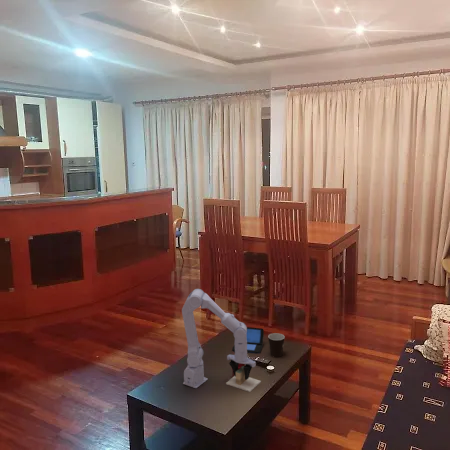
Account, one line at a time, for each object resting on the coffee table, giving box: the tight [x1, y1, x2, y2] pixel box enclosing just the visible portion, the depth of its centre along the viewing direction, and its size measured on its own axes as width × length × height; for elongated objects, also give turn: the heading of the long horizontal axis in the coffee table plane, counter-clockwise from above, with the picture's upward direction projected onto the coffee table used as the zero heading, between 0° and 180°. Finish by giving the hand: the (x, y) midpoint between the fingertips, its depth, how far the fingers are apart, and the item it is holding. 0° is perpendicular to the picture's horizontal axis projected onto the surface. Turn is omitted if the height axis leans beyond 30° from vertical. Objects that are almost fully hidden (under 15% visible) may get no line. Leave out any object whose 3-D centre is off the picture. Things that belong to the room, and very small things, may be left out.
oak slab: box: [236, 365, 246, 385], centre depth 198 cm, size 6×2×6 cm, turn 146°
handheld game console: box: [232, 326, 265, 354], centre depth 234 cm, size 16×13×9 cm
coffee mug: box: [267, 332, 286, 358], centre depth 226 cm, size 12×9×10 cm
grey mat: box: [225, 376, 262, 393], centre depth 198 cm, size 10×13×1 cm
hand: (241, 377), depth 198 cm, fingers open, 5 cm apart
